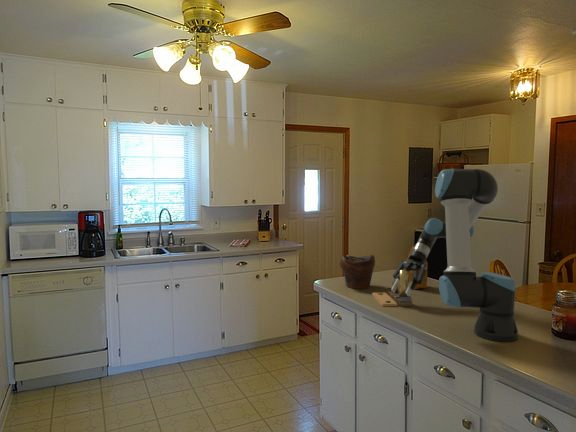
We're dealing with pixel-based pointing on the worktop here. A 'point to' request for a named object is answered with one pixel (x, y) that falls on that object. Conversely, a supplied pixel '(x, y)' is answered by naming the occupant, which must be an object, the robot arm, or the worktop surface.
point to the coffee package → (411, 272)
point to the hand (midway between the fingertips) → (399, 292)
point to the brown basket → (358, 270)
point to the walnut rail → (399, 303)
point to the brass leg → (403, 286)
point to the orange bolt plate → (384, 299)
